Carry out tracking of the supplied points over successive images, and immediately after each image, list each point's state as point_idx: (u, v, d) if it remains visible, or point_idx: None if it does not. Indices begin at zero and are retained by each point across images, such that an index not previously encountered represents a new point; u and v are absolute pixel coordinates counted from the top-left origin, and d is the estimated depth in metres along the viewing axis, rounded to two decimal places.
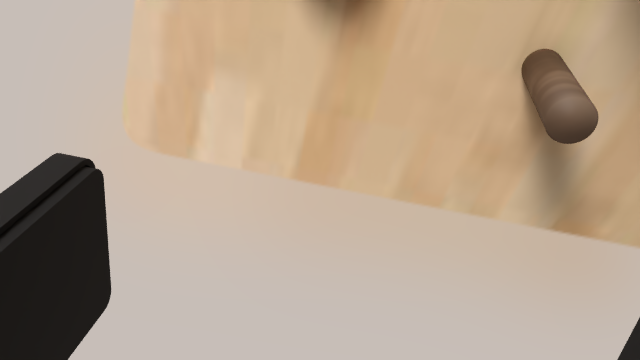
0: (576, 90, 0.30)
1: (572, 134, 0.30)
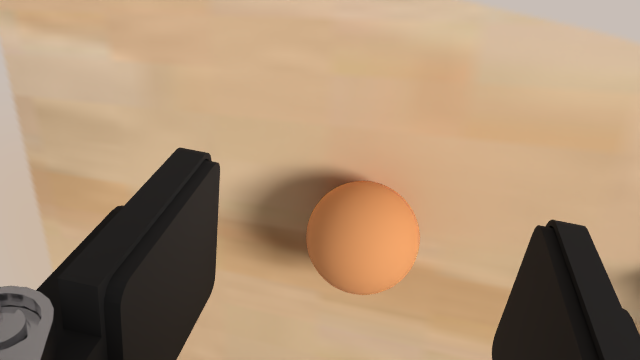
0: None
1: None
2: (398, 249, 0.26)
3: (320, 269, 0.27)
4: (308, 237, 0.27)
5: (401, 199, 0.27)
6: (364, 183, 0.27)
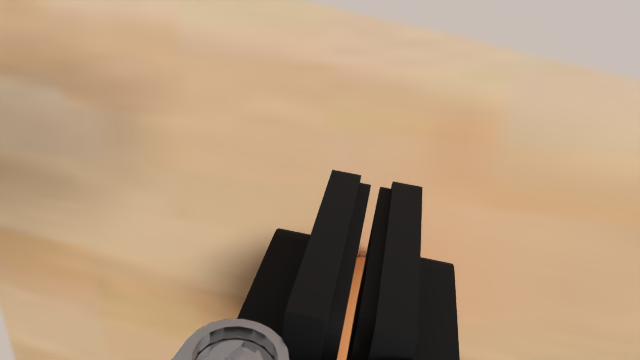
0: None
1: None
2: None
3: None
4: None
5: None
6: None
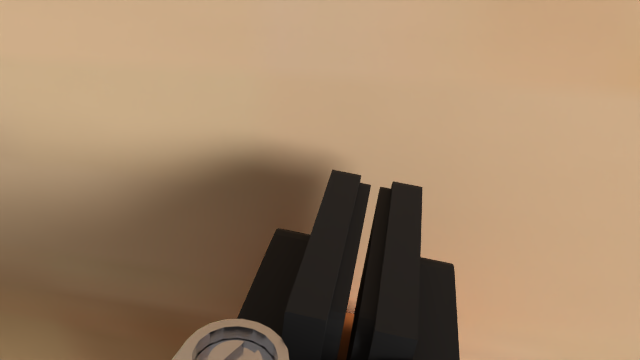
0: None
1: None
2: None
3: None
4: None
5: None
6: None
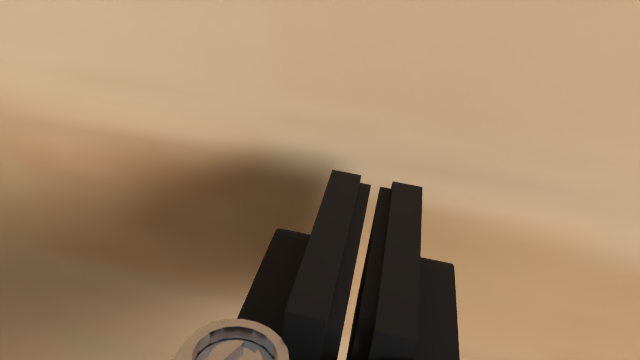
0: None
1: None
2: None
3: None
4: None
5: None
6: None
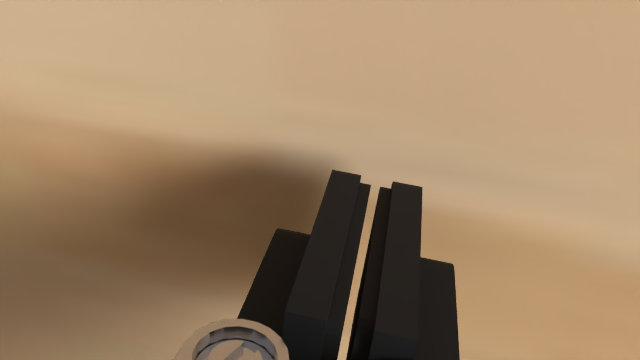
0: None
1: None
2: None
3: None
4: None
5: None
6: None
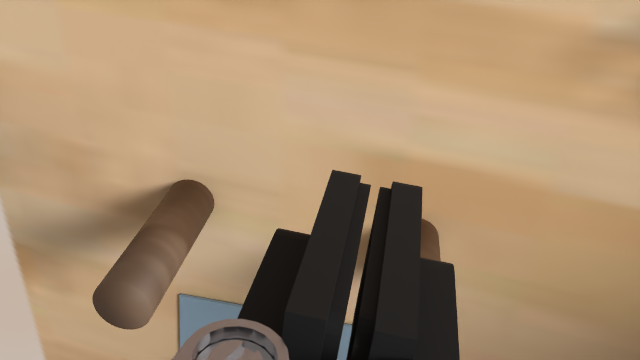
0: (161, 293, 0.25)
1: (107, 309, 0.25)
2: None
3: None
4: None
5: None
6: None
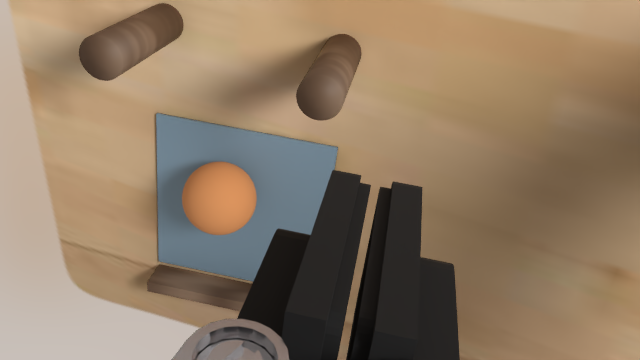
0: (131, 56, 0.33)
1: (89, 62, 0.32)
2: None
3: None
4: None
5: None
6: None
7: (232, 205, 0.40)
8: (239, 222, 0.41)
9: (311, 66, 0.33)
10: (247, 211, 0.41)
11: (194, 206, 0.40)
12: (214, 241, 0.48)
